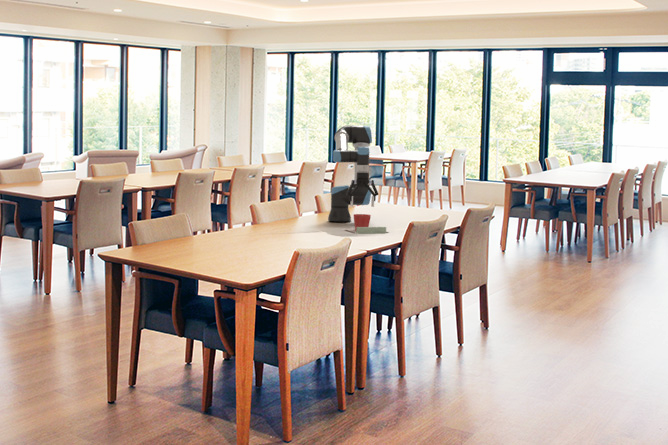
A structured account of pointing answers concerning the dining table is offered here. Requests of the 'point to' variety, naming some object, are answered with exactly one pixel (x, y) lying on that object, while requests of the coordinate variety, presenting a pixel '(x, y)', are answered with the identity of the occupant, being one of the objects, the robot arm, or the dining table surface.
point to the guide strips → (354, 232)
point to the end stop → (370, 229)
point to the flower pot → (361, 220)
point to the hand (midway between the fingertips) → (362, 206)
